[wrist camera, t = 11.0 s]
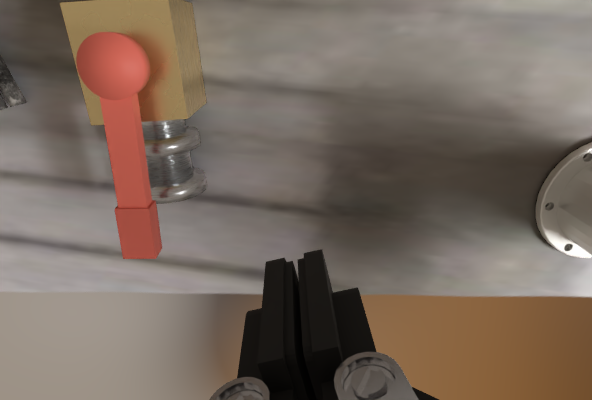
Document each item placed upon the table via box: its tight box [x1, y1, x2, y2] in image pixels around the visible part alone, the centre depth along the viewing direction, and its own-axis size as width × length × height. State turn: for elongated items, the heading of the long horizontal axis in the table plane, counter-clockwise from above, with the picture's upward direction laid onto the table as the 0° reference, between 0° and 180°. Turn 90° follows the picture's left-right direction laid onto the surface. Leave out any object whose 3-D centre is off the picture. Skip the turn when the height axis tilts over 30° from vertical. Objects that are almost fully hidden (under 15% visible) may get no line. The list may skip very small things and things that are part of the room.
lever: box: [76, 32, 162, 259], centre depth 28 cm, size 16×4×2 cm, turn 0°
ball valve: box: [60, 0, 207, 204], centre depth 31 cm, size 7×22×9 cm, turn 4°
